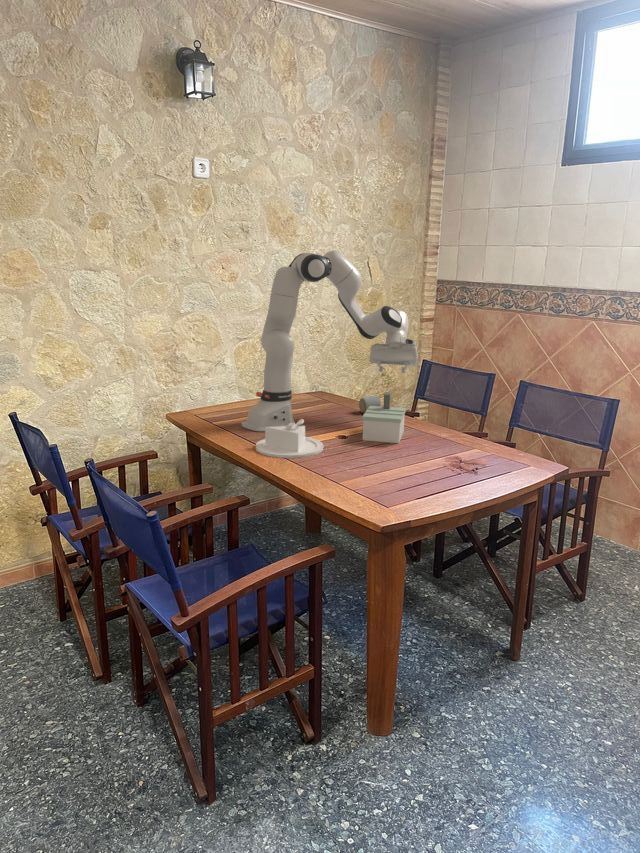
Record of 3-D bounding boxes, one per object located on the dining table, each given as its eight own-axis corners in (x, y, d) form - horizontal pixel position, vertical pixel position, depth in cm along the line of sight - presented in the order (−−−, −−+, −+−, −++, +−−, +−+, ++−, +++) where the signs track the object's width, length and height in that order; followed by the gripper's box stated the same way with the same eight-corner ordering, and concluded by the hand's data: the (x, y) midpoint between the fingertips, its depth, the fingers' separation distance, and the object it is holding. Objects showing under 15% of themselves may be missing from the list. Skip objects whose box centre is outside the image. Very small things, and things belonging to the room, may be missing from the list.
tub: (399, 443, 239) (400, 422, 237) (362, 440, 242) (363, 420, 240) (403, 430, 256) (404, 411, 254) (369, 428, 259) (370, 409, 257)
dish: (328, 441, 241) (329, 412, 238) (315, 461, 217) (315, 429, 214) (266, 436, 246) (266, 408, 243) (246, 456, 222) (246, 425, 219)
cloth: (447, 455, 228) (447, 449, 227) (508, 466, 217) (508, 459, 216) (426, 470, 211) (426, 464, 210) (491, 483, 200) (491, 476, 199)
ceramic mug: (357, 411, 287) (358, 394, 285) (373, 410, 290) (374, 393, 288) (367, 417, 278) (368, 400, 275) (384, 415, 280) (385, 399, 278)
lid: (400, 426, 237) (401, 403, 235) (362, 423, 240) (362, 401, 238) (405, 414, 254) (406, 393, 252) (369, 412, 258) (370, 391, 255)
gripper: (370, 339, 267) (366, 365, 261) (419, 341, 263) (416, 368, 256) (371, 348, 273) (367, 374, 266) (419, 350, 268) (416, 377, 262)
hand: (391, 371), depth 261 cm, fingers open, 8 cm apart
